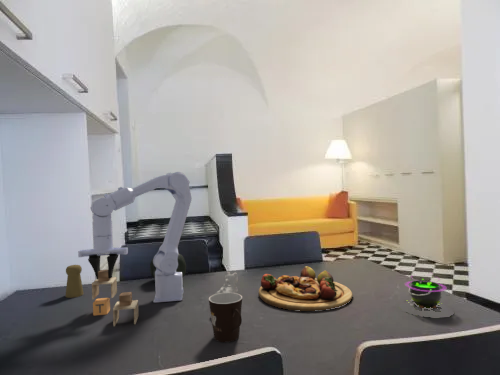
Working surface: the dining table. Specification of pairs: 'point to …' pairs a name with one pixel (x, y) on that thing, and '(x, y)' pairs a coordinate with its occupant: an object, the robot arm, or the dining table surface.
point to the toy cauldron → (425, 294)
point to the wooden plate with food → (304, 291)
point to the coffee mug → (226, 316)
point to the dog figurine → (229, 284)
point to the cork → (74, 281)
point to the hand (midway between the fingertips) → (104, 278)
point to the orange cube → (101, 306)
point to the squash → (180, 268)
